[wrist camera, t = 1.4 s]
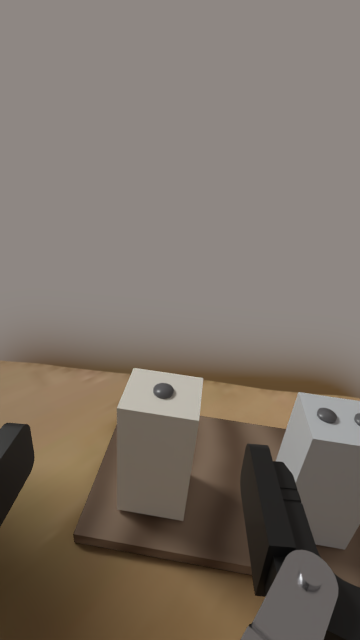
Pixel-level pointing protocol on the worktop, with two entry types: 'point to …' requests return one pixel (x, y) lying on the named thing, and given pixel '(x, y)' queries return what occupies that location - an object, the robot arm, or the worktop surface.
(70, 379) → the worktop surface
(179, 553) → the tile board
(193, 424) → the tile one dot
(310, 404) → the tile two dots
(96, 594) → the worktop surface
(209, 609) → the worktop surface
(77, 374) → the worktop surface
